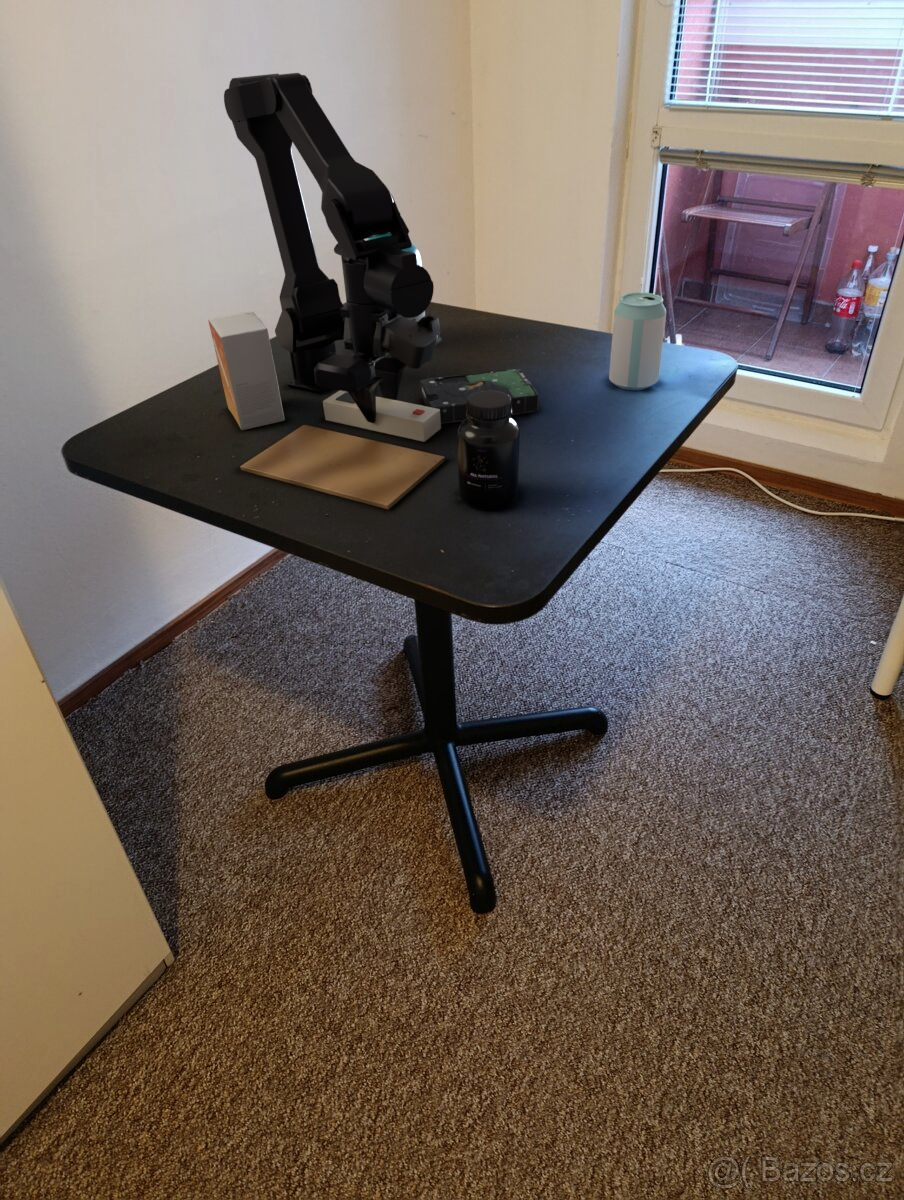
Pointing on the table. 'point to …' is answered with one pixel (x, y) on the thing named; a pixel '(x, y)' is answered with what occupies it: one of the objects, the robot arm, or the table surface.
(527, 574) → the table surface
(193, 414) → the table surface
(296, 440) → the cork mat
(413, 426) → the remote
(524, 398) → the disk drive
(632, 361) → the can
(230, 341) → the small box
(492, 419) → the supplement bottle
